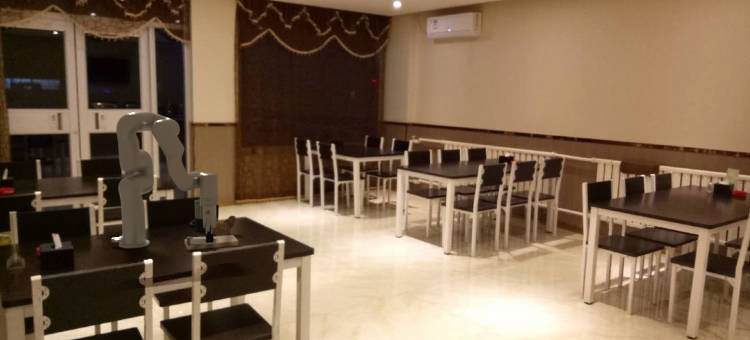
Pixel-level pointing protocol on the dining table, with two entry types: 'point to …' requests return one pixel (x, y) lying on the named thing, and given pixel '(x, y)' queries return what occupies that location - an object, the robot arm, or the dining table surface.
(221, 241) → the grey tray
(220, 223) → the lion figurine
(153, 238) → the dining table surface
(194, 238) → the grey lumpy rod
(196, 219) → the milk frother
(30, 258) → the dining table surface
